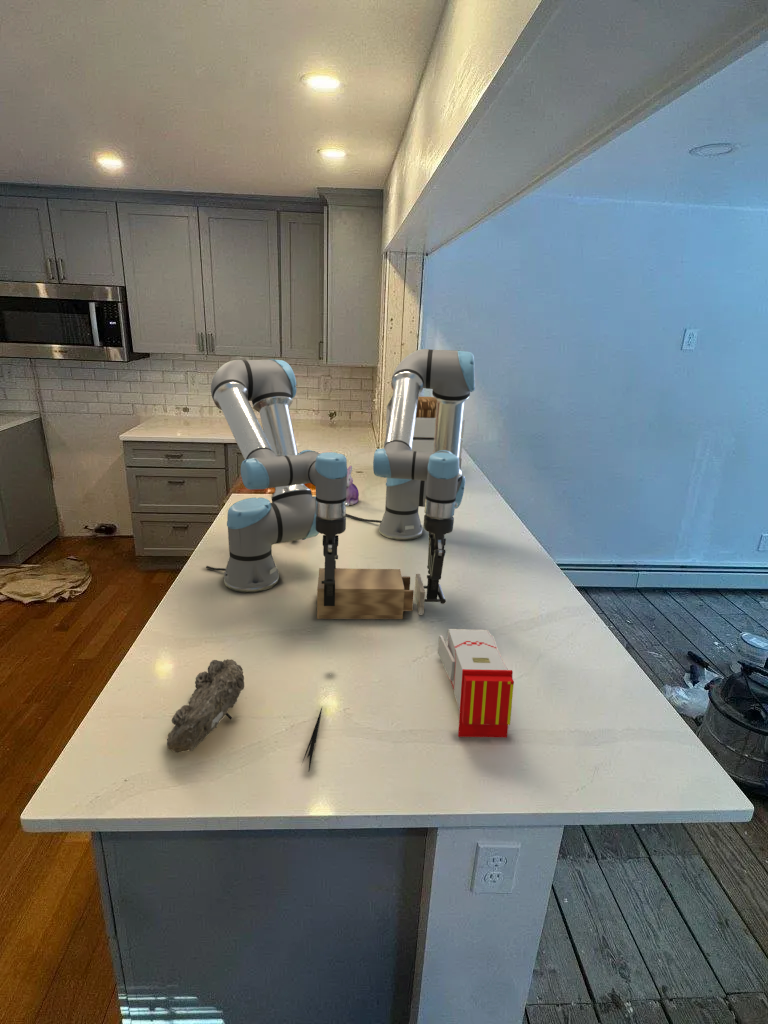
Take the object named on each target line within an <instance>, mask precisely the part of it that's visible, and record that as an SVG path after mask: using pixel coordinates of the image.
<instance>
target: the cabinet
mask: <svg viewBox="0 0 768 1024" xmlns="http://www.w3.org/2000/svg"><path fill="white" fill-rule="evenodd" d="M402 576H403V575H402V571H401V568H345V567H344V568H343V567H342V568H341V567H340V568H338V567H336V568H335V606H324V584H322V581H324V580H325V567H319V568H318V579H317V589H316V591H317V592H316V593H317V594H316V619H317V620H324V619H325V620H403V618H404V611H403V605H404V590H405V589H404V585H403V580H402Z"/></svg>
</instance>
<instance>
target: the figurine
mask: <svg viewBox="0 0 768 1024" xmlns="http://www.w3.org/2000/svg"><path fill="white" fill-rule="evenodd" d="M347 470H348V472H347V490H346V503H348V504H349V506H353V505H355V504H358V502H359V496H360V492H359V489H358V487H357V485H356V484H354V479H353V477H352V471H353V466H352V465H349V466H348V467H347Z"/></svg>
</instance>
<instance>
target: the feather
mask: <svg viewBox="0 0 768 1024" xmlns="http://www.w3.org/2000/svg"><path fill="white" fill-rule="evenodd" d="M329 675H330V676H331V675H332V674H331V673H330V674H329ZM322 710H323V707H321V708H320V710H319V713H318V716H317V719H316V723H315V725H314V728H313V731H312V733H311V737H310V739H309V742H308V745H307V748H306V751H305V754H304V757H303V760H302V763H301V767H302V765H303V763H304V761H305V758H308V759H309V760H308V762H307V763H308V764H307V766H308V771H310V770H311V766H312V765H311V764H312V760H313V757H315V756H314V755H315V751H316V749H315V746H317V739H318V733H319V729H320V722H321V717H322V712H323V711H322ZM313 754H314V755H313ZM306 755H307V757H306Z"/></svg>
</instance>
